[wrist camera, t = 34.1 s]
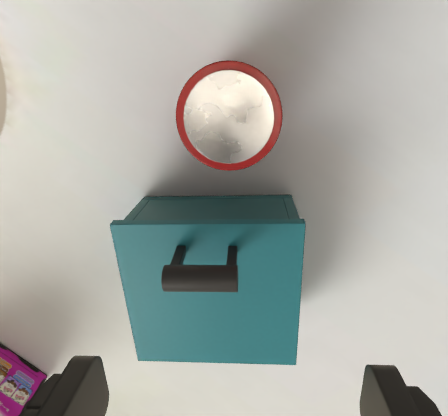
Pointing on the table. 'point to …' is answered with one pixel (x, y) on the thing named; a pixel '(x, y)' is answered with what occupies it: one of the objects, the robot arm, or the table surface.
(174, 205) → the cool box
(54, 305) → the table surface
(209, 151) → the can
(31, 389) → the candy bar box
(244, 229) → the cool box lid
